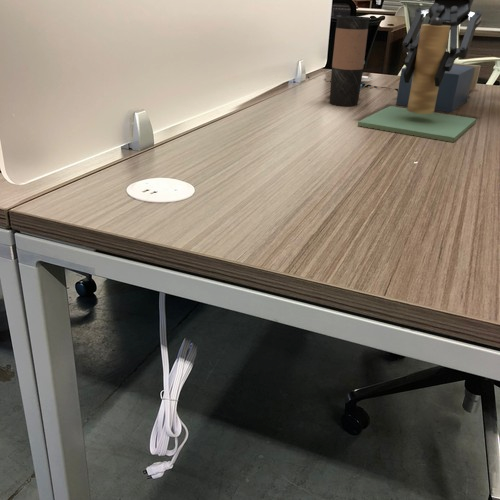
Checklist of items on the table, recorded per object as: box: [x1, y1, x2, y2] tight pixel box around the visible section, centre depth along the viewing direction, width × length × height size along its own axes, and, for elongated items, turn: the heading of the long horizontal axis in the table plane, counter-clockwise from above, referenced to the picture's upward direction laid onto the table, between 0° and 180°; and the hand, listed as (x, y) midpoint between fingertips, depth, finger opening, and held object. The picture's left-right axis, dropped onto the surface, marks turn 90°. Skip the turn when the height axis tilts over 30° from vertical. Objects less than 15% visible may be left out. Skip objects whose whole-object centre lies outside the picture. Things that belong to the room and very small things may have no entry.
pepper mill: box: [406, 17, 451, 114], centre depth 105 cm, size 6×6×18 cm
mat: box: [357, 105, 477, 143], centre depth 110 cm, size 20×20×1 cm
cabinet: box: [395, 65, 474, 113], centre depth 130 cm, size 17×14×9 cm
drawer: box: [453, 62, 481, 92], centre depth 141 cm, size 20×13×7 cm, turn 147°
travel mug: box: [329, 15, 370, 107], centre depth 124 cm, size 8×8×20 cm
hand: (421, 80), depth 103 cm, fingers closed on pepper mill, 6 cm apart
